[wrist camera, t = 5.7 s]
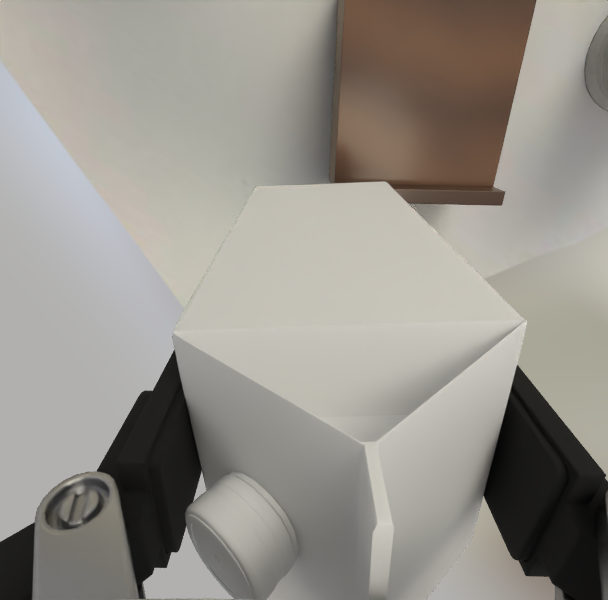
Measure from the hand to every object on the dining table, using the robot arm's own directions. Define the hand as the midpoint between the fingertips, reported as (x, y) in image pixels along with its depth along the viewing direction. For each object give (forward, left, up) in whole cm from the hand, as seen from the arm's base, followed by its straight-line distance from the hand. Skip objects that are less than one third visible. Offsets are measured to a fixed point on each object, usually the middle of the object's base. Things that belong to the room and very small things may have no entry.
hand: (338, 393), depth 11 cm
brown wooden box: (-8, +7, -28) cm, 30 cm away
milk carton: (0, 0, -13) cm, 13 cm away
